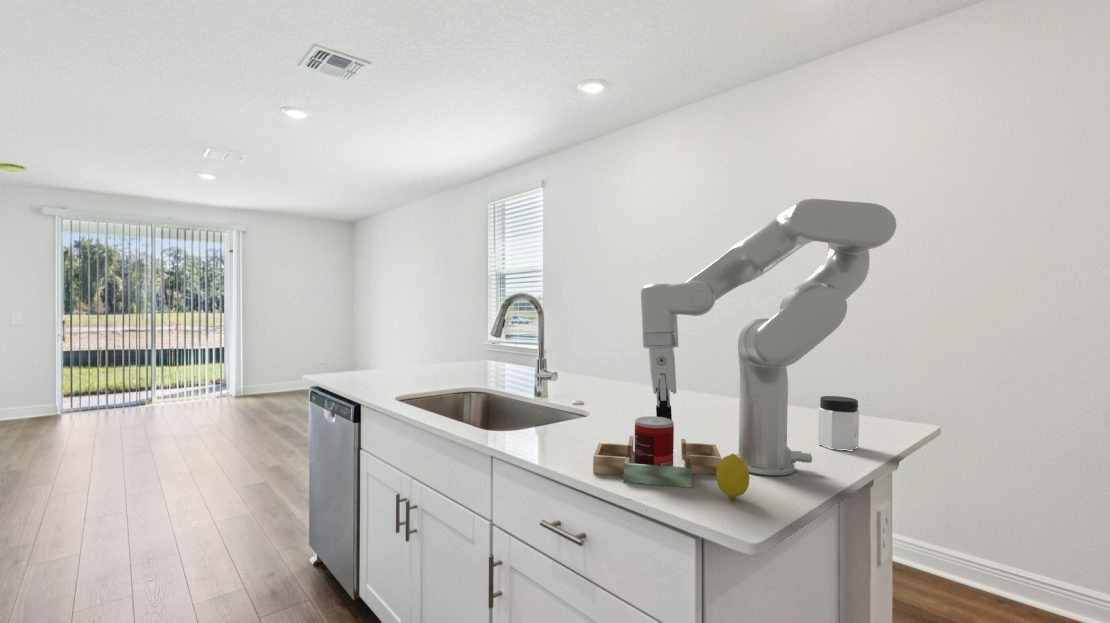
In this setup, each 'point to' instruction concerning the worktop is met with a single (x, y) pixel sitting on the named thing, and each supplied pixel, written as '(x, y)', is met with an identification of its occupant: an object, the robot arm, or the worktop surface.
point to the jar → (838, 422)
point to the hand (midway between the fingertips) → (664, 424)
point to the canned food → (654, 441)
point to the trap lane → (619, 456)
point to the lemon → (732, 476)
